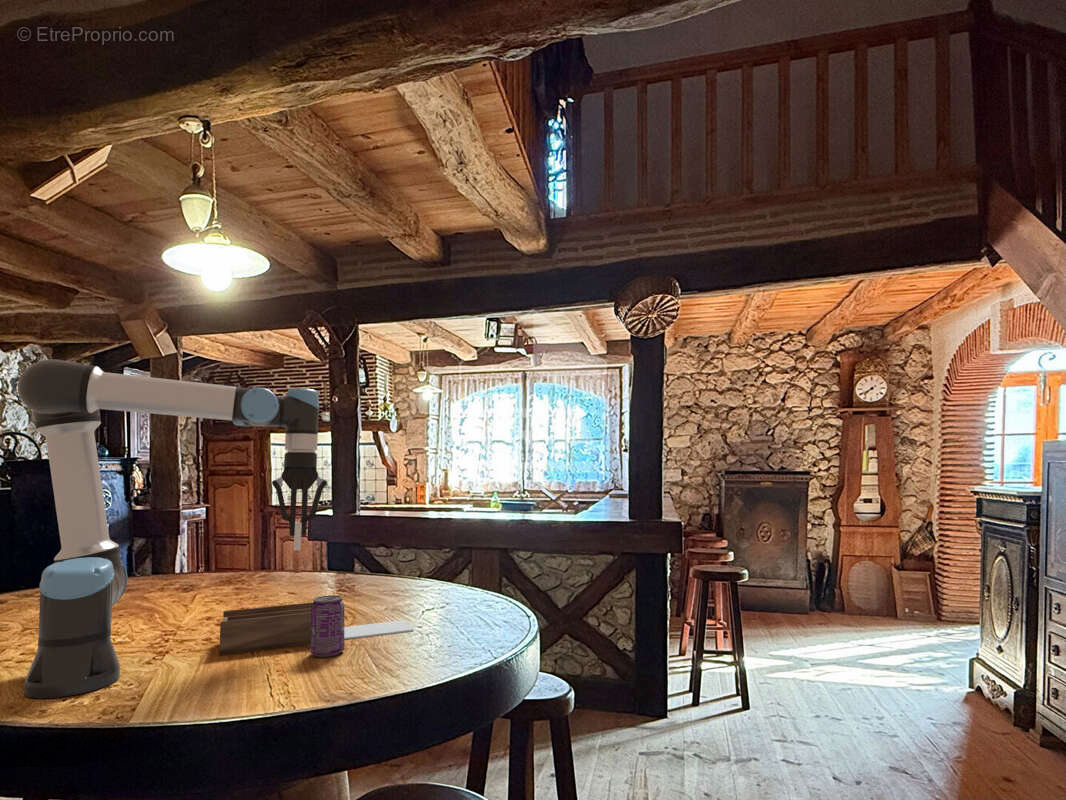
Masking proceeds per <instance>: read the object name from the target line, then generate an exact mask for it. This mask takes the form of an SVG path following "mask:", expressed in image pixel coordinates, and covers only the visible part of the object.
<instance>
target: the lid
mask: <svg viewBox="0 0 1066 800" xmlns="http://www.w3.org/2000/svg"><path fill="white" fill-rule="evenodd" d="M411 632H414V628H413V627H412V626H411V625H410V624H409V623H408V622H407V620H405V619H403V620H402V619H401V620H393V621H385V622H384V621H383V622H377V623H376V622H375V623H369V624H366V623H365V624H360V625H359V624H357V625H351V626H344V641H346V640H347V641H348V640H355V639H356V640H357V639H363V638H372V637H379V636H388V635H395V634H402V633H403V634H404V633H411Z"/></svg>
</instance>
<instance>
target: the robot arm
mask: <svg viewBox="0 0 1066 800" xmlns="http://www.w3.org/2000/svg"><path fill="white" fill-rule="evenodd" d="M17 393H18V396H19V398H20V400H21V402H22V403H23V404H24V405H25V407H26V408H28V409H29V410H31V411H32V413H33V419H34V426H35V431H36V432H37V433H38V434H41V436H43V437H44V438H45V440H46V446H47V454H48V461H49V462H48V463H49V468H50V474H51V484H52V490H53V495H54V496H53V497H54V504H55V512H56V517H57V524H58V532H59V538H60V546H61V549H60V551H59V552H58V553H57V554H56V555H55V557H54V558H53V561H54V563H52V564H51V565H49V566H47V567H45V569H44V570H43V571H42V574H41V579H40V582H39V591H40V594H39V612H38V613H39V616H38V639H37V640H38V641H37V650H36V653H35V655H34V658H33V661H32V662H31V666H30V668H29V670H28V672H27V675H26V677H25V679H24V685H23V686H24V687H23V694H25V695H26V697H27V696H29V697H28V698H31V697H34V698H33V699H51V698H52V699H53V698H54V699H55V698H63V697H69V696H74V695H80V694H84V693H88V692H92V691H95V690H98V689H102V688H104V687H107V686H110V685H111V684H113V683H116V681H118V680H119V679H120V677H121V675H120V674H121V665H120V662H119V658H118V655H117V653H116V650H115V647H114V645H113V644H114V643H113V641H112V637H111V635H112V617H113V616H112V615H113V612H112V611H113V607H114V606H115V605H116V604H117V603H118V602H119V600H121V598H122V597H123V595H124V593H125V591H126V589H127V584H128V573H127V570H126V568H125V566H124V565H123V563H122V558H121V551H120V546H119V544H118V543H116V542H115V541H113V540H111V538H110V534H109V533H110V532H109V525H108V519H107V513H106V507H105V499H104V491H103V485H102V479H101V471H100V464H99V456H98V450H97V444H96V436H95V431H96V430H97V428H98V427H99V426H100V425H101V424H102V422H101V413H100V410H107V411H119V412H133V413H140V414H141V413H142V414H154V415H155V414H156V415H165V416H166V415H167V416H175V417H187V418H189V417H190V418H198V419H199V418H201V419H211V420H222V421H232V424H233V425H235V426H240V427H246V428H249V427H250V428H251V427H261V428H262V427H265V428H266V427H267V428H268V427H270V428H271V427H272V428H273V427H275V428H278V427H279V428H285V438H284V439H285V440H284V450H285V451H287V452H285V453H284V457H283V458H284V461H283V472H282V473H281V476H280V477H278V478H277V479H273V480H272V482H271V484H272V486H273V488H274V489H275V491H276V495H277V501H278V505H279V508H280V509H279V510H280V514H281V519H282V520H283V521H286V522H289V527H288V529H289V537H293V551H294V552H295V551H301V548H302V537H303V536H306V534H307V525H308V522H309V521H311V520H314V519H315V517H316V514H317V511H318V507H319V504H320V499H321V496H322V493H323V490H324V488H325V487H326V486H327V484H328V481H327V480H325V479H323V478H321V477H320V476H319V473H318V469H317V468H318V467H317V463H318V454H317V453H316V452H315V451H317V450H318V442H319V441H318V440H319V439H318V437H319V435H318V433H319V432H318V431H319V415H320V413H319V412H320V400H319V397H320V395H319V392H318V391H317V390H315V389H311V388H301V387H300V388H295V387H294V388H289V389H288V390H287V393H286V395H283V396H278V395H277V396H276V394H275V393H274V392H273V391H271V390H270V389H268V388H266V387H259V386H258V387H253V388H250V387H241V386H240V387H238V386H233V385H225V384H224V385H222V384H214V383H205V382H196V381H187V380H177V379H168V378H160V377H151V376H143V375H142V376H141V375H130V374H123V373H113V372H108V371H107V372H105V371H103V369H101V368H100V367H99V366H97V365H88V364H81V363H76V362H70V361H67V360H62V359H56V358H55V359H51V358H49V359H44V360H43V359H42V360H39V361H37V362H34V363H33V364H32V363H31V364H30V365H29V366H28V367H27V368H25V369H24V371H23V372H22V373H21V375H20V376H19V379H18V382H17ZM283 481H284V483H285V484H286V485H287V487H288V488H289V489H290V505H289V506H290V510H289V515H288V512H287V508H286V504H285V499H284V494H283V490H282V487H283V486H284V485H283V484H284V483H283ZM315 482H316V487H317V488H316V490H315V495H314V498H313V501H312V505H311V507H310V508H311V509H310V511H309V514H308V498H309V497H308V494H309V489H310V488H312V486H313V485H314V483H315ZM298 490H301V512H300V513H301V514H300V521H296V519H297V518H296V516H297V515H296V514H297V493H298V492H297V491H298ZM25 695H24V696H25Z"/></svg>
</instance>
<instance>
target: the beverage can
mask: <svg viewBox="0 0 1066 800" xmlns="http://www.w3.org/2000/svg"><path fill="white" fill-rule="evenodd" d="M312 599H313V600H312V602H313V605H312V607H311V645H310V654H311V655H313V656H315V657H317V658H330V657H335V656H337V655H339V654H340V653H341V652H343V651H344V650H345V640H344V627H345V603H344V601H343V596H342V595H335V594H333V595H331V594H330V595H322V596H316V597H314V598H312Z"/></svg>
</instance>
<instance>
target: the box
mask: <svg viewBox="0 0 1066 800" xmlns="http://www.w3.org/2000/svg"><path fill="white" fill-rule="evenodd" d="M313 602H314V601H312V602H311V601H310V602H303V603H301V602H300V603H292V604H282V605H272V606H263V607H262V606H261V607H252V608H241V609H231V610H223V615H222V616H223V617H222V620H221V621H220V622H219V656H221V657H222V656H228V655H237V654H244V653H252V652H261V651H269V650H276V649H277V650H279V649H285V648H292V647H301V646H302V647H303V646H311V607H312V605H313Z"/></svg>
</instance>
